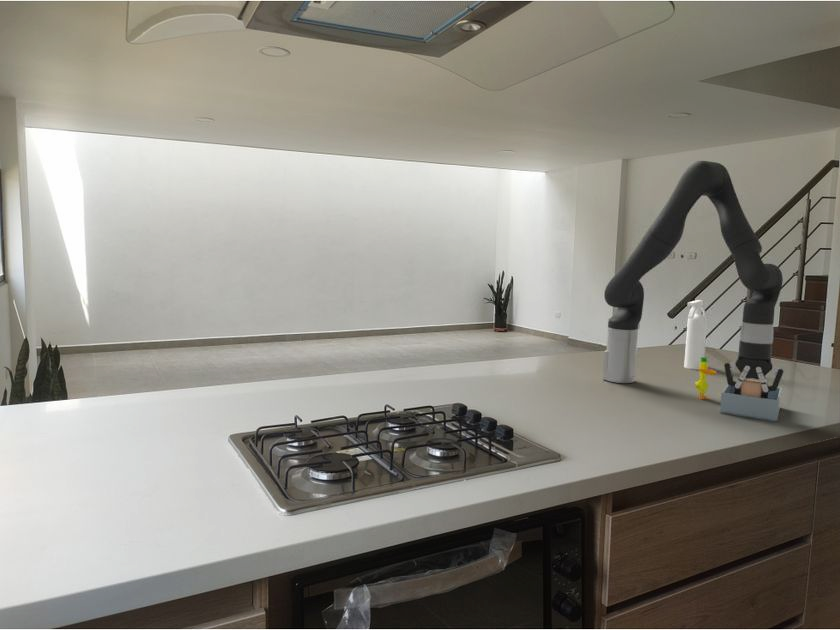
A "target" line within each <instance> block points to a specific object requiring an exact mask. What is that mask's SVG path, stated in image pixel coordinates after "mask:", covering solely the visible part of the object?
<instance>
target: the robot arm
mask: <svg viewBox="0 0 840 630" xmlns="http://www.w3.org/2000/svg"><path fill="white" fill-rule="evenodd" d="M702 196H705V197H707V198H708V199H709V200H710V202H711V203H712V204H713V206H714V208H715V209H716V212H717V215H718V219H719V225H720V232H721V236H722V238H723V240H724V242H725V244H726V246H727V248H728V250H729V252H730V254H731V255H732V257H733V259H734V265H735V268H736V271H737V275H738V278H739V280H740V282H741V283H742V284H743V286H744V287H745V288H746V289H747V290H749V291H752V294H751V298H749V299H748V300H747V301H746V302H744V305H743V311H742V322H741V327H740V332H739V344H738V353H737V354H738V355H737V356H738V357H737V359H736V360H735V361H731V362H730V361H726V362H725V363H724V364H723V365H724V370H725V377H726V381H727V384H729V385H731V386H733V387H734V388H735V392H734V394H737V395H740V391H741V388H740V387H741V384H742V381H743V380H744V379H753V380H758V381H760V383H761V385H762V389H763V391H762V395H761V398H765V399H768V392H770V391H776V390H777V388H779V387H778V386H779V384H780V382H781V379H782V377H783V374H784V371H785V370H784V368H783V367H777V366H774V365H773V363H772V355H773V345H774V344H773V343H774V320H775V309H776V308H775V307H776V305H777V302H778V299H779V297H780V294H781V290H782V287H783V280H784V279H783V272H782V270H781V269H780V267H779V266H777V265H775V264H773V263H764V262H763V260H762V257H761V253H762V251H763V247H762V244H761V241H760V240H759V239H758V237H757V235H756V233H755V231H754V230H753V228H752V226H751V224H750V223H749V221H748V219H747V217H746V215H745V213H744V211H743V210H744V209H743V208H742V206H741V203H740V202H739V198H738V196H737V193H736V191H735V188H734V183H733V181H732V178H731V176H730V174H729V171H728V169H727V168H726V166H725V165H723V164H721V163H719V162H715V161H707V160H697V161H694V162H692V163H691V164H690V165H689V166H687V168H686V169H685V170H684V172H683V174H682V175H681V177H680V179H679V180H678V182H677V184H676V186H675V188H674V190H673V191H672V193H671V195H670V197H669V199H668V201H666V204H665V205H664V206H663V208H662V209H661V210H660V212H659V213H658V215H657V216H656V218H655V220H654V221H653V223H652V224H650V227H649V228H648V230H647V231H646V232H645V233H644V235H643V236H642V238H641V240H640V242H639V243H638V244H637V246H636V247H635V249H634V250H633V251H632V253H631V254H630V255H629V257H628V259H627V260H626V261H625V263H624V264H623V265H622V266H621V268H620V269H619V270H618V271H617V272H616V274H614V276H612V278H611V279H610V280H609V282H608V283H607V285H606V286H605V289H604V295H603V296H604V300H605V303H606V304H607V305H608V306H609V307H613V308H617V311H616V312H615V314H614V315H612V316H611V317H610V318H608V321H607V337H606V339H607V340H606V350H604V355H603V370H602V372H603V373H602V380H604V381H608V382H611V383H617V384H631V383H632V384H633V383H634V382H635V378H636V377H635V376H636V365H637V364H636V363H637V347H638V333H639V325H640V322H641V321H642V318H643V317H642V316H643V310H644V307H643V306H644V301H645V291H644V287H643V284H642V282H640V280H641V279H642V278H643V277H644V276H645V275H646V274H647V273H649V272H650V271H651V270H653V269H655V267H657V266H658V265H660V264H661V263H662V262H663V261H665V260H666V259H667V258H668V257H669V255H670V254H671V253H672V252H673V251H674V249H675V248H676V246H677V245H678V244H679V242H680V240H681V239H682V237H683V234H684V231H685V224H686V220H687V217H688V215H689V213H690V211H691V210H692V208H693V207H694V206H695V204H696V203H697V202H698V200H699V199H700V198H701V197H702ZM735 367H736V368H737V369H738V371H739V372H740V375H739V377H738V379H737V381H736V380H734V376H733V371H734V369H735ZM771 371H772V372H773V373H772V374H773V376H775V377H774V380H773V383H772V384H771V385H769V383H768V381H767V377H766V375H768V374H769V373H770V372H771Z"/></svg>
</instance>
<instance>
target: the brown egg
mask: <svg viewBox="0 0 840 630" xmlns="http://www.w3.org/2000/svg"><path fill="white" fill-rule="evenodd" d="M740 395H744V396H751V397H758V398H761V395H762V385H761V383H760V380H759V379H753V378H745V379H744V380H743V381H742V384H741V391H740Z"/></svg>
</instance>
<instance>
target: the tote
mask: <svg viewBox="0 0 840 630" xmlns="http://www.w3.org/2000/svg"><path fill="white" fill-rule="evenodd" d="M740 388H741V387H740ZM782 390H783V388H782V387H777V390H776V391H770V392H768V399H765V398H758V397H751V396H744V395H737V394H734V392H735V388H734V387H733V386H731V385H729V384H728V383H727V384H726V386H725V387H724V388H723V390H722V391H721V396H720V407H719V413H720V414H725V415H731V416H737V417H743V418H748V419H749V418H750V419H755V420H760V421H761V420H762V421H766V422H767V421H768V422H775V423H778V420H779V419H778V418H779V414H780V409H781V400H782V392H783V391H782ZM762 391H763V389H762Z"/></svg>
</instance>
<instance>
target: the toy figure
mask: <svg viewBox="0 0 840 630" xmlns="http://www.w3.org/2000/svg"><path fill="white" fill-rule="evenodd" d="M707 359H708V357H705V356H704V357H701V362H700V367H699V369H698V370H697V371H698V372H699V373H698V375H699V380H698V381H694V382H695V390H696V391H697V393H699V396H698V399H700V400H708V399H709V398H708V396H706V395H705V393H706V392H707V391H708V388H709V384H708V382H707V381H706V379H707V375H709V376H715V375H716V374H717V371H716V370H713V369H711V368H709V367H708V366H709V360H707Z"/></svg>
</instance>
